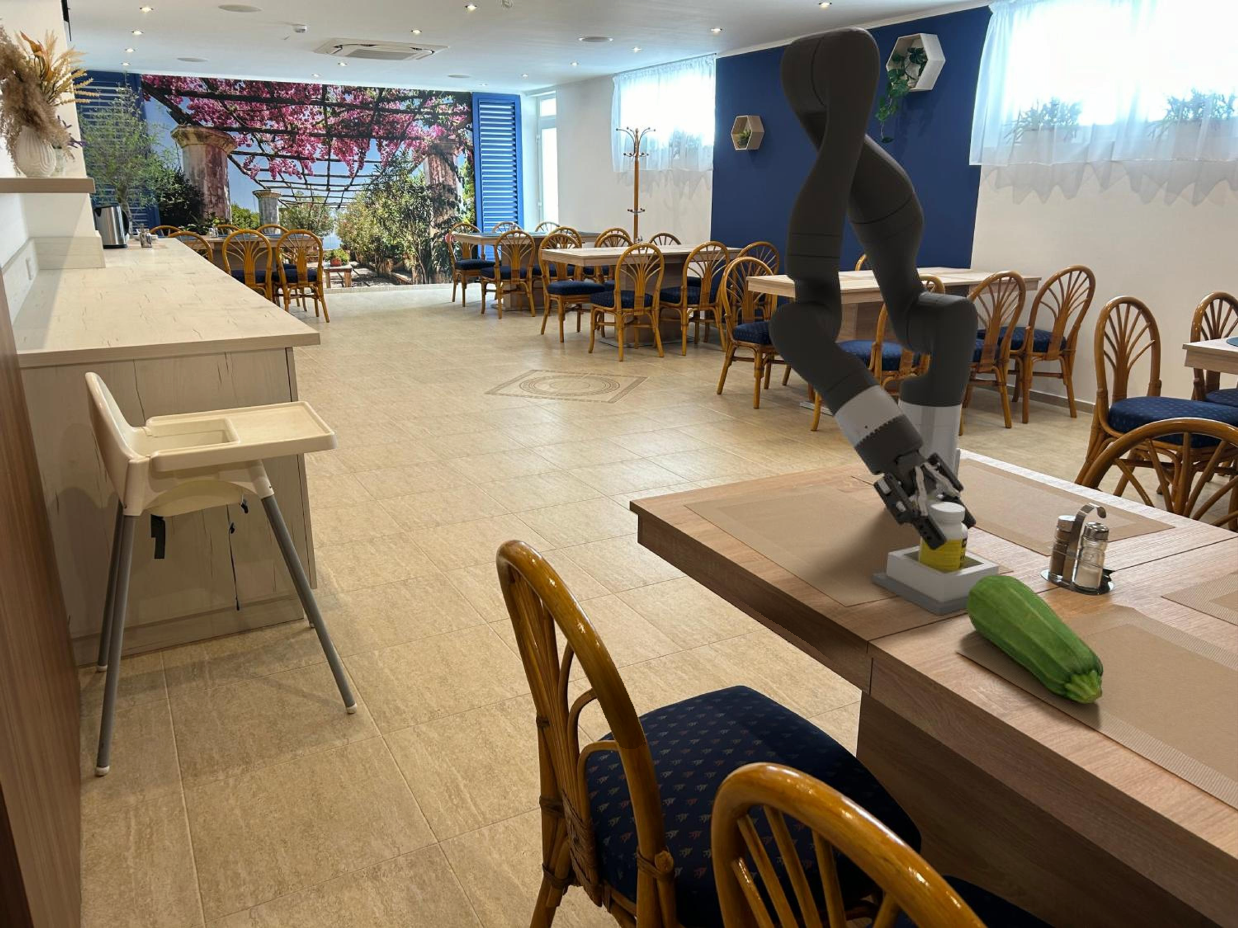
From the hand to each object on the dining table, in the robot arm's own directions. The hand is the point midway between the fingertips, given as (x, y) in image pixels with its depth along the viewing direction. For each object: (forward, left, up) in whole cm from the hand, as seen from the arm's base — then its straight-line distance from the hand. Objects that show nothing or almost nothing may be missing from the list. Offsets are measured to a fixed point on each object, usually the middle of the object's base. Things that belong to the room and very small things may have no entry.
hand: (955, 537), depth 110 cm
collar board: (0, -1, -7) cm, 7 cm away
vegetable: (+6, +17, -8) cm, 20 cm away
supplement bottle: (0, -1, -6) cm, 7 cm away
